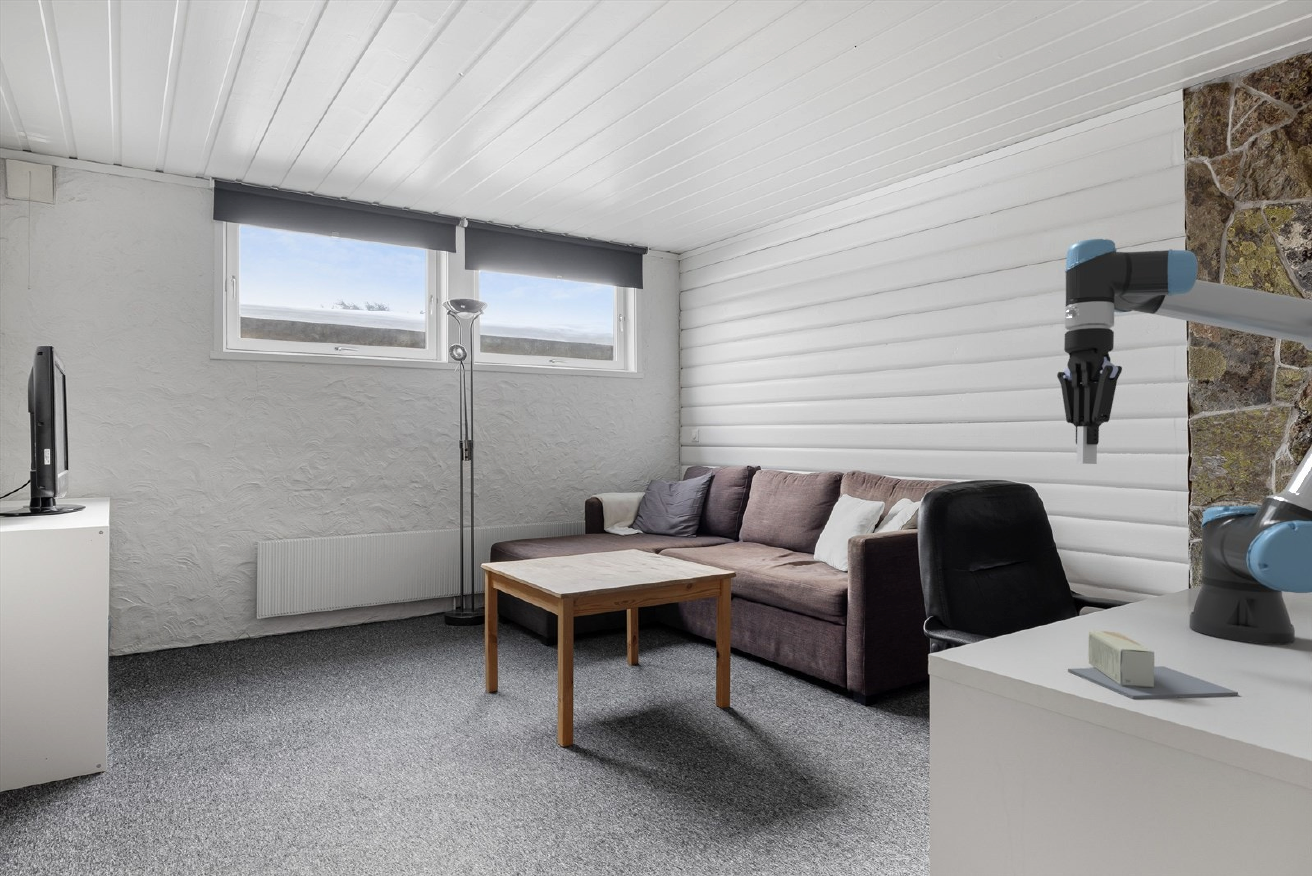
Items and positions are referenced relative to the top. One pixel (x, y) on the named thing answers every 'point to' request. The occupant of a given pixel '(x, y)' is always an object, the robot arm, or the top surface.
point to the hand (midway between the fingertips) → (1086, 463)
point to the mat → (1158, 684)
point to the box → (1121, 659)
